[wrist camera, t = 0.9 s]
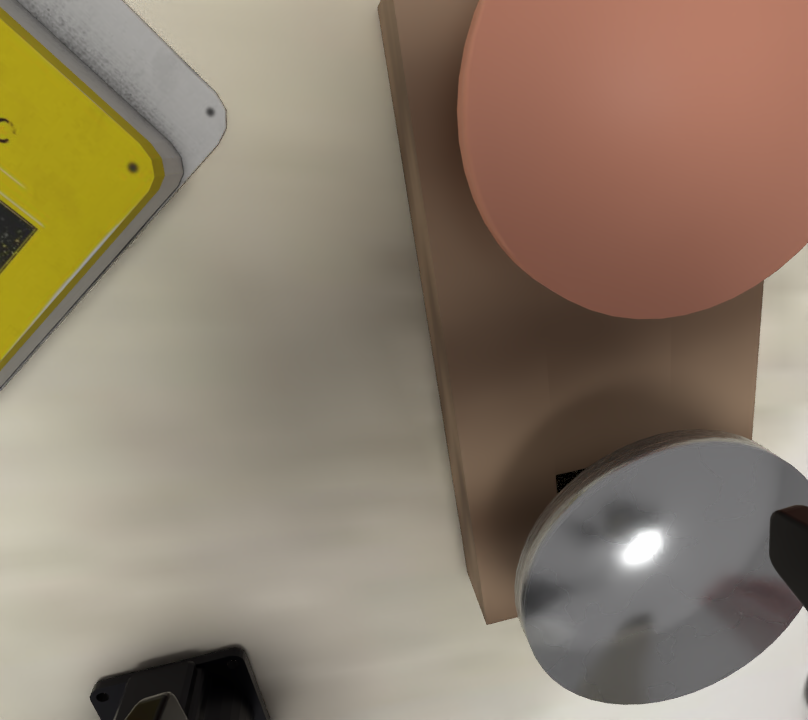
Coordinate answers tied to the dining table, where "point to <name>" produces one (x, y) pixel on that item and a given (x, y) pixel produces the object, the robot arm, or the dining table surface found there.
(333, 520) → the dining table surface
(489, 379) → the housing
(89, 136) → the emergency button
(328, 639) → the dining table surface
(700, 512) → the silver round dome
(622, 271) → the rust plunger
